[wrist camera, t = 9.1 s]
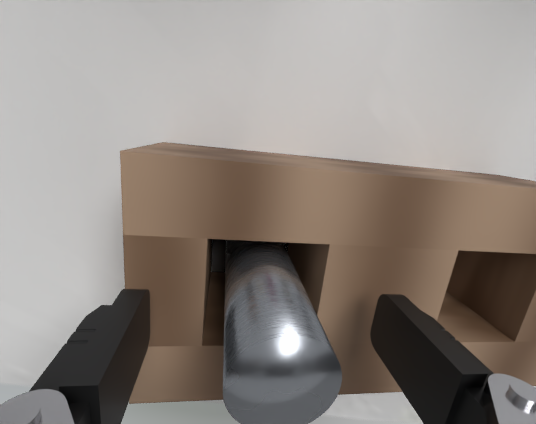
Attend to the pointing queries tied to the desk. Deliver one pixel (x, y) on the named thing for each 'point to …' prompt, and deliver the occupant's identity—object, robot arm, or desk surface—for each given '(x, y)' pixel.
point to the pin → (273, 340)
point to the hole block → (326, 256)
